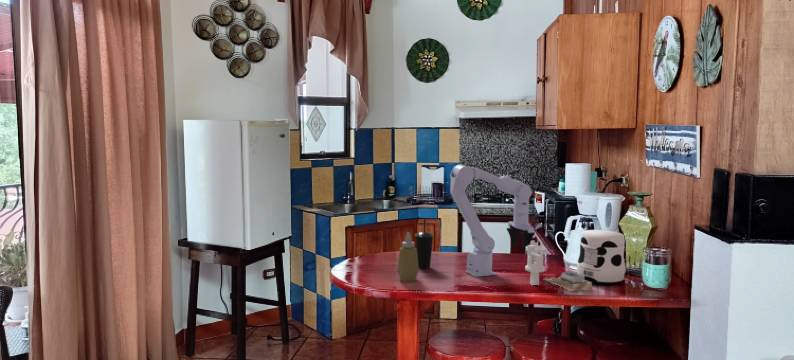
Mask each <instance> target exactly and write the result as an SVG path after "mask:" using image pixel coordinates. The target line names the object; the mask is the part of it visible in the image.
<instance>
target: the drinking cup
mask: <svg viewBox="0 0 794 360" xmlns="http://www.w3.org/2000/svg"><path fill="white" fill-rule="evenodd" d="M414 236H415V245H416V247H415V248H416V249H417V256H418V267H419V270H420V269H422V270H427V269H430V268H431V261H432V250H433V242H434V236H435V235H434V234H433V233H432V232H429V231H426V218H424V219H423V231H419V232H417V233H415V234H414Z"/></svg>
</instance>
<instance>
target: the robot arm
mask: <svg viewBox="0 0 794 360" xmlns="http://www.w3.org/2000/svg"><path fill="white" fill-rule="evenodd" d="M449 176H450V187H449V188H450V190H449V192H450V194H451V196H452V199H453V200H454V202H455V204H456V206H457V208H458V210H459V213H460V214H461V215H462V217H463V219H464V221H465V223H466V225H467V227H468V228H469V229H468V230H470V236H471V239H472V240H471V241H472V245H473V246H474V248H473V251H470V252H468V253H467V255H466V270H465V272H466V273H467V274H469V275H471V276H472V277H486V276H495V275H497V272H494V271H493V250H494V249H495V245H496V242H495V240H494V238H492V237H491V236H490V235H489V233H488V231H487V230H486V229H485V228H484V226H483V225H482V223H481V220H480V219H479V217H478V215H477V213H476V211H475V209H474V207H473V206H472V204H471V201H470V199H469V198H468V196H467V193H466V190H467V187H468V186H469V184H470V183H471V182H472V181H473V180H474V181H476V180H479V179H480V180H483V181H486V182H487V183H491V184H494V185H495V186H496V188H497V190H499V191H502V192H504V193H507V194H509V195H512V196H514V198H513V221H511V220H510V221H508V224H507V226H508V227H506V231H507V233H508V234H509V239H510V242H511V246H512V247H515V246H518V243H519V236H520V237H521V246H522V250H525V251H526V246H528V245H531V241H532V239H533V237H534V236H535V234H536V233H535V230H534V229H535V228H534V227H533V226H531V224H530V223H529V213H530V212H529V211H530V210H529V209H530V208H529V207H530V198H531V196H532V194H533V191H532V189H531V186H530V185H529V184H526V183H522V182H521V180H519V179H518V180H516V179H514V178H511V176H510V175H507V174H506V175H501V176H498V175H494V174H492V173H490V172H487V171H485V170H482V169H481V168H479V167H478V168H477V167H473V166H469V165H464V164H460V163H459V164H457V165H455V166H453V168H452V170H451V172H450V174H449Z"/></svg>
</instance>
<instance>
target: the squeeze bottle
mask: <svg viewBox="0 0 794 360" xmlns="http://www.w3.org/2000/svg"><path fill="white" fill-rule="evenodd" d="M415 245H416V241H412V235H411V232H406V235H405V239H404V241H402V243H401V247H400V248H399V254H398V261H397V262H398V263H397V273H398V277H399V279H400V281H403V282H413V281H416V280H417V277H418V274H419V270H420V268H419V267H418V256H417V247H415Z"/></svg>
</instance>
